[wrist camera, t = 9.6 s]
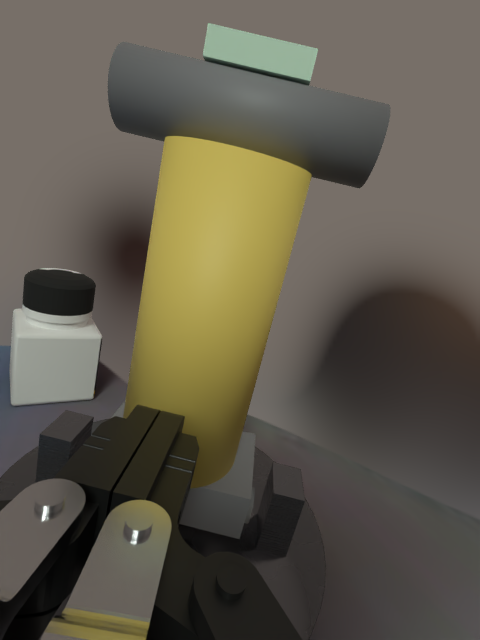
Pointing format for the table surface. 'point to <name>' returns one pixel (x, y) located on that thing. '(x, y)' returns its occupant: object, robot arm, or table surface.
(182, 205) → the yellow mallet
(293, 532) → the dark grey round stand
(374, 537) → the table surface
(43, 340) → the medicine bottle
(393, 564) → the table surface
